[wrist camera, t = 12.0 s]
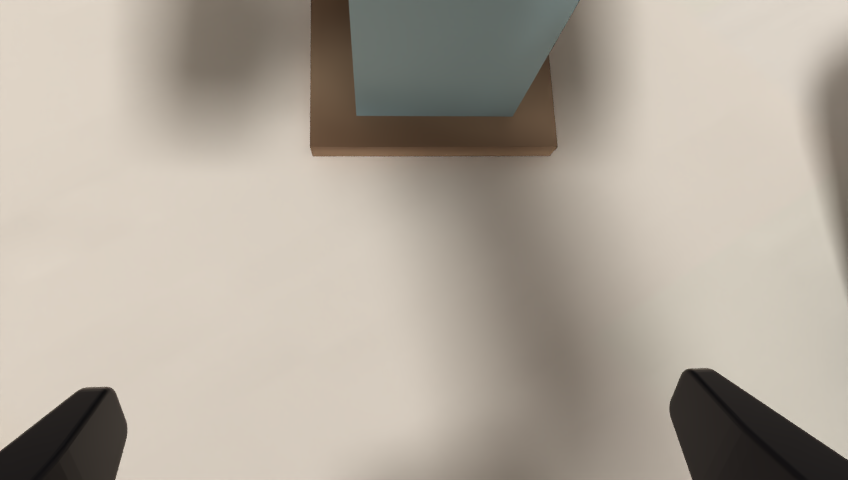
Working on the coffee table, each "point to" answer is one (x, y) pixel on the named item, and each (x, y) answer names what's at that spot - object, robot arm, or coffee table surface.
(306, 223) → the coffee table surface
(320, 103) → the dock
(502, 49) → the grey-blue block
